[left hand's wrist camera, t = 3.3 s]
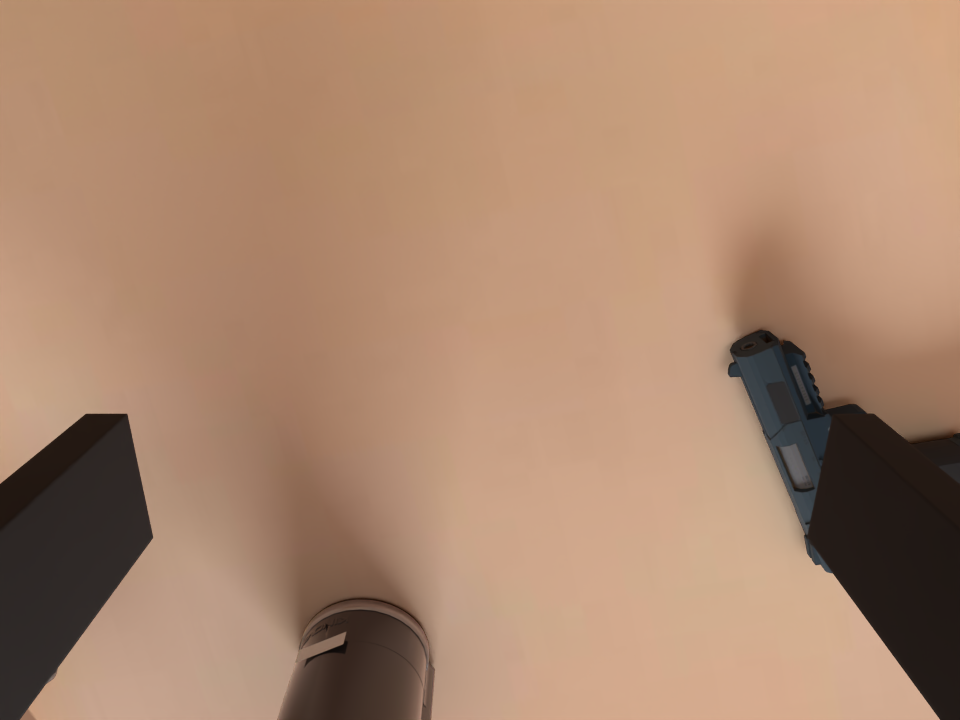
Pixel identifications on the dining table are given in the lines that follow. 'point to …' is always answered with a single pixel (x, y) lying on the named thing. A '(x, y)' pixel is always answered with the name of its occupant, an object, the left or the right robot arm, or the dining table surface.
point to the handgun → (803, 419)
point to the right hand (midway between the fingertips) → (56, 619)
